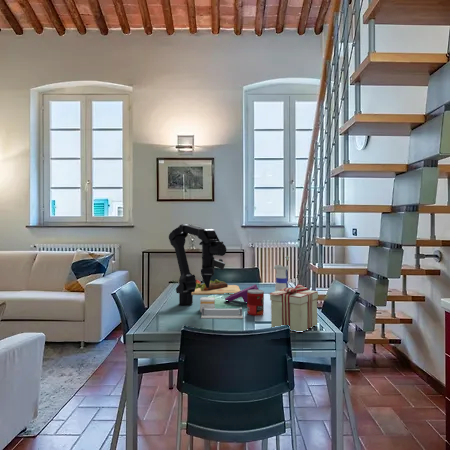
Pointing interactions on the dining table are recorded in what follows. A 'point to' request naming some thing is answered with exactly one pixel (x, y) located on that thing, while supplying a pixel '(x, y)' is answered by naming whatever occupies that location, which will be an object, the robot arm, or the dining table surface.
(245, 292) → the mounting bracket
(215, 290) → the cutting board
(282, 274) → the water bottle
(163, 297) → the dining table surface
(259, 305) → the canned food
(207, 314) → the light grey long base
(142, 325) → the dining table surface
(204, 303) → the grey slotted block
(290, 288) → the gift box
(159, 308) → the dining table surface
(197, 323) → the dining table surface
